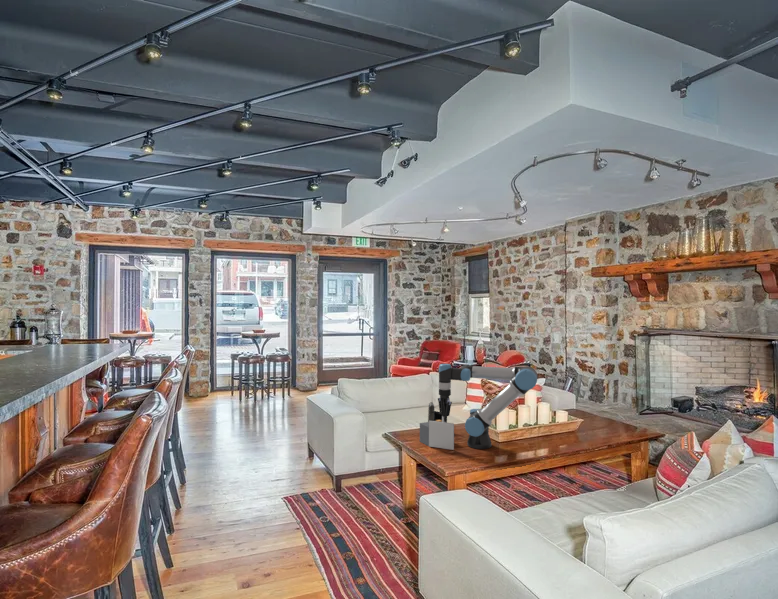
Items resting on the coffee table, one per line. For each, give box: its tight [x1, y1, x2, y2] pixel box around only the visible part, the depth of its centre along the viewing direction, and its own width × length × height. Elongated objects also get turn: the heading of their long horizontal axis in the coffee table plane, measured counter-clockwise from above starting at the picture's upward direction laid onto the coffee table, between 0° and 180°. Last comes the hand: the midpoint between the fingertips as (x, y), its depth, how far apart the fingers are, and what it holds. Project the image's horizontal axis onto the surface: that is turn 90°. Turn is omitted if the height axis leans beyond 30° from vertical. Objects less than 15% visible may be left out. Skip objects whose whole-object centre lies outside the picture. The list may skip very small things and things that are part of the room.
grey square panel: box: [428, 421, 455, 451], centre depth 290 cm, size 16×1×16 cm, turn 66°
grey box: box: [419, 420, 442, 448], centre depth 303 cm, size 12×18×13 cm
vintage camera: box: [427, 401, 442, 422], centre depth 328 cm, size 10×16×20 cm, turn 89°
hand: (444, 426), depth 292 cm, fingers closed
